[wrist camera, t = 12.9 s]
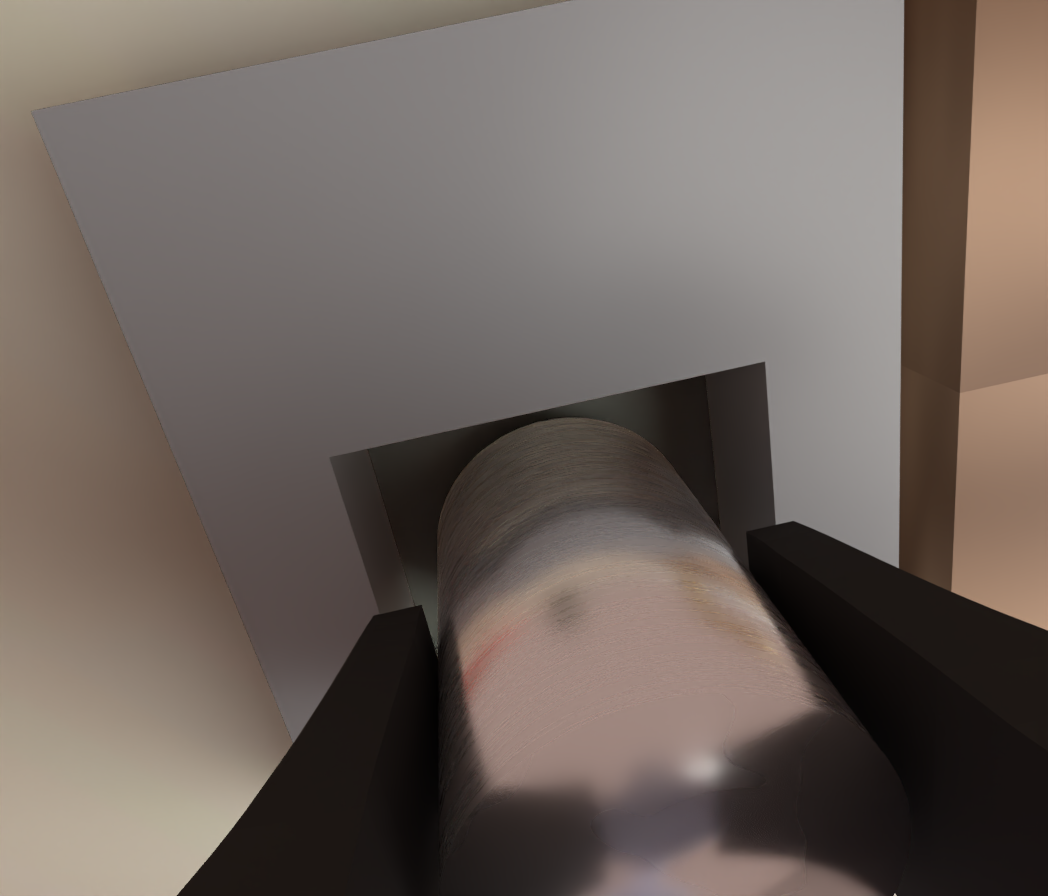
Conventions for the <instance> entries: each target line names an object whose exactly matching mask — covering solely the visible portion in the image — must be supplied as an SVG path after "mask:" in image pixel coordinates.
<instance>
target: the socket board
mask: <svg viewBox="0 0 1048 896" xmlns="http://www.w3.org/2000/svg"><path fill="white" fill-rule="evenodd" d="M899 569H901V570H904V571H906V572H908V573H910V574H912V575H915V576H917V577H919V578H921V579H924V580H926V581H928V582H930V583H933V584H935V585H937V586H939V587H942V588H944V589H946V590H949V591H951V592H953V593H956V594H958V595H960V596H963V597H965V598H967V599H970V600H972V601H975V602H977V603H979V604H982V605H984V606H987V607H989V608H991V609H994V610H996V611H999V612H1002V613H1004V614H1007V615H1009V616H1012V617H1014V618H1017V619H1020V620H1022V621H1025V622H1027V623H1030V624H1032V625H1035V626H1038V627H1040V628H1043V629H1045V630H1048V0H904V78H903V183H902V288H901V393H900V497H899Z"/></svg>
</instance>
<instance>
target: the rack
mask: <svg viewBox="0 0 1048 896" xmlns="http://www.w3.org/2000/svg"><path fill="white" fill-rule="evenodd" d="M903 75H904V0H570V1H565V2H560V3H556V4H551V5H546V6H541V7H536V8H531V9H526V10H521V11H517V12H512V13H507V14H502V15H497V16H492V17H487V18H482V19H478V20H473V21H468V22H463V23H458V24H453V25H448V26H443V27H439V28H434V29H429V30H424V31H419V32H414V33H409V34H404V35H400V36H395V37H390V38H385V39H380V40H375V41H370V42H365V43H361V44H356V45H351V46H346V47H341V48H336V49H331V50H326V51H322V52H317V53H312V54H307V55H302V56H297V57H292V58H287V59H283V60H278V61H273V62H268V63H263V64H258V65H253V66H248V67H243V68H239V69H234V70H229V71H224V72H219V73H214V74H209V75H204V76H200V77H195V78H190V79H185V80H180V81H175V82H170V83H165V84H161V85H156V86H151V87H146V88H141V89H136V90H131V91H126V92H122V93H117V94H112V95H107V96H102V97H97V98H92V99H87V100H83V101H78V102H73V103H68V104H63V105H58V106H53V107H48V108H44V109H39V110H34V111H31V113H32V115H33V118H34V120H35V123H36V125H37V127H38V130H39V132H40V135H41V137H42V140H43V142H44V144H45V147H46V149H47V152H48V154H49V156H50V159H51V161H52V164H53V166H54V168H55V171H56V173H57V176H58V178H59V180H60V183H61V185H62V188H63V190H64V193H65V195H66V197H67V200H68V202H69V205H70V207H71V209H72V212H73V214H74V217H75V219H76V221H77V224H78V226H79V229H80V231H81V233H82V236H83V238H84V241H85V243H86V246H87V248H88V250H89V253H90V255H91V258H92V260H93V262H94V265H95V267H96V270H97V272H98V274H99V277H100V279H101V282H102V284H103V286H104V289H105V291H106V294H107V296H108V299H109V301H110V303H111V306H112V308H113V311H114V313H115V315H116V318H117V320H118V323H119V325H120V327H121V330H122V332H123V335H124V337H125V340H126V342H127V344H128V347H129V349H130V352H131V354H132V356H133V359H134V361H135V364H136V366H137V368H138V371H139V373H140V376H141V378H142V380H143V383H144V385H145V388H146V390H147V393H148V395H149V397H150V400H151V402H152V405H153V407H154V409H155V412H156V414H157V417H158V419H159V421H160V424H161V426H162V429H163V431H164V433H165V436H166V438H167V441H168V443H169V446H170V448H171V450H172V453H173V455H174V458H175V460H176V462H177V465H178V467H179V470H180V472H181V474H182V477H183V479H184V482H185V484H186V487H187V489H188V491H189V494H190V496H191V499H192V501H193V503H194V506H195V508H196V511H197V513H198V515H199V518H200V520H201V523H202V525H203V527H204V530H205V532H206V535H207V537H208V540H209V542H210V544H211V547H212V549H213V552H214V554H215V556H216V559H217V561H218V564H219V566H220V568H221V571H222V573H223V576H224V578H225V580H226V583H227V585H228V588H229V590H230V593H231V595H232V597H233V600H234V602H235V605H236V607H237V609H238V612H239V614H240V617H241V619H242V621H243V624H244V626H245V629H246V631H247V633H248V636H249V638H250V641H251V643H252V646H253V648H254V650H255V653H256V655H257V658H258V660H259V662H260V665H261V667H262V670H263V672H264V674H265V677H266V679H267V682H268V684H269V687H270V689H271V691H272V694H273V696H274V699H275V701H276V703H277V706H278V708H279V711H280V713H281V715H282V718H283V720H284V723H285V725H286V727H287V730H288V732H289V735H290V737H291V740H292V742H293V743H294V742H295V740H296V739H297V737H298V735H299V734H300V732H301V731H302V729H303V728H304V726H305V725H306V723H307V721H308V720H309V718H310V717H311V715H312V714H313V712H314V711H315V709H316V708H317V706H318V704H319V703H320V701H321V700H322V698H323V697H324V695H325V693H326V692H327V690H328V689H329V687H330V685H331V684H332V682H333V680H334V679H335V677H336V675H337V674H338V672H339V671H340V669H341V667H342V666H343V664H344V662H345V661H346V659H347V657H348V656H349V654H350V652H351V651H352V649H353V647H354V645H355V644H356V642H357V640H358V639H359V637H360V636H361V634H362V632H363V631H364V629H365V628H366V626H367V624H368V623H369V621H370V620H371V619H372V617H373V616H374V615H378V614H383V613H387V612H392V611H396V610H400V609H405V608H409V607H414V603H413V599H412V596H411V593H410V589H409V586H408V583H407V579H406V576H405V573H404V569H403V566H402V563H401V559H400V556H399V553H398V549H397V546H396V543H395V539H394V536H393V533H392V529H391V526H390V523H389V519H388V516H387V513H386V509H385V506H384V503H383V499H382V496H381V493H380V489H379V486H378V483H377V479H376V476H375V473H374V469H373V466H372V463H371V459H370V456H369V453H368V450H367V449H369V448H374V447H378V446H383V445H387V444H392V443H396V442H401V441H406V440H410V439H415V438H419V437H424V436H428V435H433V434H437V433H442V432H447V431H451V430H456V429H460V428H465V427H469V426H474V425H478V424H483V423H487V422H492V421H497V420H501V419H506V418H510V417H515V416H519V415H524V414H528V413H533V412H538V411H542V410H547V409H551V408H556V407H560V406H565V405H569V404H574V403H579V402H583V401H588V400H592V399H597V398H601V397H606V396H610V395H615V394H620V393H624V392H629V391H633V390H638V389H642V388H647V387H651V386H656V385H660V384H665V383H670V382H674V381H679V380H683V379H688V378H692V377H697V376H701V375H705V377H706V387H707V397H708V408H709V418H710V428H711V438H712V448H713V458H714V468H715V478H716V488H717V498H718V508H719V518H720V528H721V533H722V534H723V536H724V537H725V538H726V540H727V541H728V542H729V544H730V545H731V547H732V548H733V549H734V551H735V552H736V553H737V555H738V556H739V557H740V559H741V560H742V561H743V563H744V564H745V566H746V567H747V568H748V570H749V562H748V550H747V538H746V531H750V530H755V529H759V528H764V527H768V526H773V525H777V524H781V523H786V522H790V521H795V522H798V523H800V524H803V525H805V526H808V527H810V528H812V529H815V530H817V531H819V532H821V533H824V534H826V535H828V536H830V537H832V538H835V539H837V540H839V541H841V542H843V543H845V544H848V545H850V546H852V547H854V548H856V549H858V550H860V551H863V552H865V553H867V554H869V555H871V556H873V557H875V558H878V559H880V560H882V561H884V562H886V563H888V564H891V565H893V566H895V567H897V568H899V495H900V390H901V285H902V180H903Z"/></svg>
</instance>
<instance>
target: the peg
mask: <svg viewBox="0 0 1048 896" xmlns="http://www.w3.org/2000/svg"><path fill="white" fill-rule="evenodd" d="M437 544H438V779H439V896H893V895H894V893H895V891H896V889H897V888H898V885H899V882H900V880H901V877H902V874H903V872H904V869H905V867H906V862H907V858H908V853H909V848H910V839H911V818H910V811H909V805H908V800H907V797H906V794H905V791H904V788H903V785H902V783H901V780H900V778H899V777H898V775H897V773H896V771H895V770H894V768H893V766H892V765H891V763H890V761H889V760H888V758H887V757H886V756H885V754H884V753H883V752H882V750H881V749H880V748H879V746H878V745H877V744H876V742H875V741H874V739H873V738H872V737H871V735H870V734H869V733H868V731H867V730H866V729H865V727H864V726H863V725H862V723H861V722H860V720H859V719H858V718H857V716H856V715H855V714H854V712H853V711H852V710H851V708H850V707H849V705H848V704H847V703H846V701H845V700H844V699H843V697H842V696H841V695H840V693H839V692H838V691H837V689H836V688H835V686H834V685H833V684H832V682H831V681H830V680H829V678H828V677H827V676H826V674H825V673H824V672H823V670H822V669H821V667H820V666H819V665H818V663H817V662H816V661H815V659H814V658H813V657H812V655H811V654H810V653H809V651H808V650H807V648H806V647H805V646H804V644H803V643H802V642H801V640H800V639H799V638H798V636H797V635H796V633H795V632H794V631H793V629H792V628H791V627H790V625H789V624H788V623H787V621H786V620H785V619H784V617H783V616H782V614H781V613H780V612H779V610H778V609H777V608H776V606H775V605H774V604H773V602H772V601H771V600H770V598H769V597H768V595H767V594H766V593H765V591H764V590H763V589H762V587H761V586H760V585H759V583H758V582H757V581H756V579H755V578H754V576H753V575H752V574H751V572H750V571H749V570H748V568H747V567H746V566H745V564H744V563H743V561H742V560H741V559H740V557H739V556H738V555H737V553H736V552H735V551H734V549H733V548H732V547H731V545H730V544H729V542H728V541H727V540H726V538H725V537H724V536H723V534H722V533H721V532H720V530H719V529H718V528H717V526H716V525H715V523H714V522H713V521H712V519H711V518H710V517H709V515H708V514H707V513H706V511H705V510H704V509H703V507H702V506H701V504H700V503H699V502H698V500H697V499H696V498H695V496H694V495H693V494H692V492H691V491H690V489H689V488H688V487H687V485H686V484H685V483H684V481H683V480H682V479H681V477H680V476H679V475H678V473H677V472H676V470H675V469H674V468H673V466H672V465H671V464H670V462H669V461H668V460H667V459H666V458H665V457H664V455H663V454H662V453H661V452H660V451H659V450H658V449H657V448H656V447H654V446H653V445H652V444H651V443H650V442H649V441H647V440H646V439H644V438H642V437H641V436H639V435H638V434H636V433H635V432H632V431H630V430H628V429H626V428H624V427H622V426H619V425H616V424H612V423H609V422H606V421H601V420H595V419H590V418H571V417H570V418H558V419H550V420H545V421H541V422H536V423H533V424H530V425H527V426H524V427H521V428H518V429H516V430H514V431H512V432H510V433H508V434H506V435H504V436H502V437H500V438H499V439H497V440H496V441H494V442H493V443H491V444H490V445H488V446H487V447H486V448H484V449H483V450H482V451H481V452H480V453H478V454H477V455H476V456H475V457H474V458H473V459H472V460H471V461H470V462H469V463H468V464H467V466H466V467H465V468H464V469H463V470H462V472H461V473H460V474H459V476H458V477H457V479H456V480H455V482H454V483H453V485H452V487H451V489H450V491H449V493H448V495H447V497H446V499H445V502H444V505H443V508H442V511H441V515H440V520H439V525H438V542H437Z"/></svg>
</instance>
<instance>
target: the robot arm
mask: <svg viewBox="0 0 1048 896" xmlns="http://www.w3.org/2000/svg"><path fill="white" fill-rule="evenodd" d="M746 538H747V550H748V562H749V571H750V572H751V574H752V575H753V576H754V578H755V579H756V581H757V582H758V583H759V585H760V586H761V587H762V589H763V590H764V591H765V593H766V594H767V595H768V597H769V598H770V600H771V601H772V602H773V604H774V605H775V606H776V608H777V609H778V610H779V612H780V613H781V614H782V616H783V617H784V619H785V620H786V621H787V623H788V624H789V625H790V627H791V628H792V629H793V631H794V632H795V633H796V635H797V636H798V638H799V639H800V640H801V642H802V643H803V644H804V646H805V647H806V648H807V650H808V651H809V653H810V654H811V655H812V657H813V658H814V659H815V661H816V662H817V663H818V665H819V666H820V667H821V669H822V670H823V672H824V673H825V674H826V676H827V677H828V678H829V680H830V681H831V682H832V684H833V685H834V686H835V688H836V689H837V691H838V692H839V693H840V695H841V696H842V697H843V699H844V700H845V701H846V703H847V704H848V705H849V707H850V708H851V710H852V711H853V712H854V714H855V715H856V716H857V718H858V719H859V720H860V722H861V723H862V725H863V726H864V727H865V729H866V730H867V731H868V733H869V734H870V735H871V737H872V738H873V739H874V741H875V742H876V744H877V745H878V746H879V748H880V749H881V750H882V752H883V753H884V754H885V756H886V757H887V758H888V760H889V761H890V763H891V765H892V766H893V768H894V770H895V771H896V773H897V775H898V777H899V778H900V780H901V783H902V785H903V788H904V791H905V794H906V797H907V800H908V805H909V811H910V818H911V839H910V848H909V853H908V858H907V862H906V867H905V869H904V872H903V874H902V877H901V880H900V882H899V885H898V888H897V889H896V891H895V894H896V895H897V896H1048V630H1045V629H1043V628H1040V627H1038V626H1035V625H1032V624H1030V623H1027V622H1025V621H1022V620H1020V619H1017V618H1014V617H1012V616H1009V615H1007V614H1004V613H1002V612H999V611H996V610H994V609H991V608H989V607H987V606H984V605H982V604H979V603H977V602H975V601H972V600H970V599H967V598H965V597H963V596H960V595H958V594H956V593H953V592H951V591H949V590H946V589H944V588H942V587H939V586H937V585H935V584H933V583H930V582H928V581H926V580H924V579H921V578H919V577H917V576H915V575H912V574H910V573H908V572H906V571H904V570H901V569H899V568H897V567H895V566H893V565H891V564H888V563H886V562H884V561H882V560H880V559H878V558H875V557H873V556H871V555H869V554H867V553H865V552H863V551H860V550H858V549H856V548H854V547H852V546H850V545H848V544H845V543H843V542H841V541H839V540H837V539H835V538H832V537H830V536H828V535H826V534H824V533H821V532H819V531H817V530H815V529H812V528H810V527H808V526H805V525H803V524H800V523H798V522H795V521H790V522H786V523H781V524H777V525H773V526H768V527H764V528H759V529H755V530H750V531H746ZM177 896H439V779H438V658H437V655H436V652H435V648H434V645H433V642H432V638H431V635H430V631H429V628H428V625H427V621H426V618H425V615H424V611H423V608H422V605H418V606H414V607H409V608H405V609H400V610H396V611H392V612H387V613H383V614H378V615H374V616H373V617H372V619H371V620H370V621H369V623H368V624H367V626H366V628H365V629H364V631H363V632H362V634H361V636H360V637H359V639H358V640H357V642H356V644H355V645H354V647H353V649H352V651H351V652H350V654H349V656H348V657H347V659H346V661H345V662H344V664H343V666H342V667H341V669H340V671H339V672H338V674H337V675H336V677H335V679H334V680H333V682H332V684H331V685H330V687H329V689H328V690H327V692H326V693H325V695H324V697H323V698H322V700H321V701H320V703H319V704H318V706H317V708H316V709H315V711H314V712H313V714H312V715H311V717H310V718H309V720H308V721H307V723H306V725H305V726H304V728H303V729H302V731H301V732H300V734H299V735H298V737H297V739H296V740H295V742H294V743H293V745H292V746H291V748H290V749H289V751H288V752H287V753H286V755H285V756H284V758H283V759H282V761H281V762H280V763H279V765H278V766H277V768H276V769H275V770H274V772H273V773H272V775H271V776H270V777H269V779H268V780H267V782H266V783H265V784H264V786H263V787H262V789H261V790H260V791H259V793H258V794H257V796H256V797H255V798H254V800H253V801H252V803H251V804H250V805H249V807H248V808H247V810H246V811H245V812H244V814H243V815H242V816H241V818H240V819H239V820H238V822H237V823H236V824H235V826H234V827H233V828H232V830H231V831H230V832H229V833H228V835H227V836H226V837H225V838H224V840H223V841H222V842H221V843H220V845H219V846H218V847H217V848H216V850H215V851H214V852H213V853H212V855H211V856H210V857H209V858H208V859H207V861H206V862H205V863H204V864H203V865H202V866H201V868H200V869H199V870H198V871H197V872H196V874H195V875H194V876H193V877H192V878H191V879H190V881H189V882H188V883H187V884H186V885H185V887H184V888H183V889H182V890H181V891H180V892H179V894H178V895H177Z"/></svg>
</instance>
